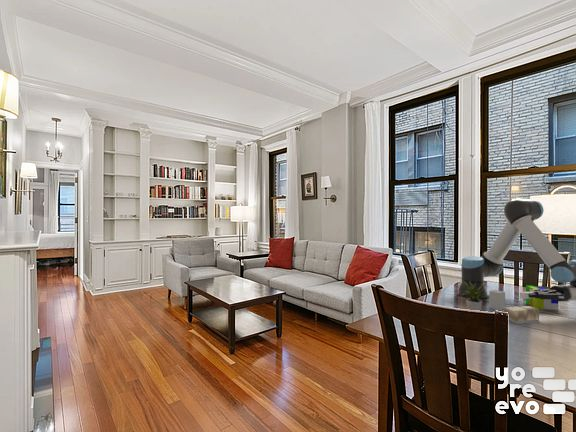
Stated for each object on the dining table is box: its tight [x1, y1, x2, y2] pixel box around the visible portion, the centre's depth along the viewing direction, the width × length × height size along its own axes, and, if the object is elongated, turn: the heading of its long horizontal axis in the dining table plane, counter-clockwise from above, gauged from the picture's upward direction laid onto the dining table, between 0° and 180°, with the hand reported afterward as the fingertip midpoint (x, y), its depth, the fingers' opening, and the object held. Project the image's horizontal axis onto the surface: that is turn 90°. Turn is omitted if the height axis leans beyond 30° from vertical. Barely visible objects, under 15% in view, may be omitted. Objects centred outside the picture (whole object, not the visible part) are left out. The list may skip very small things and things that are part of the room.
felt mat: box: [508, 320, 540, 325], centre depth 145 cm, size 12×9×1 cm
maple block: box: [503, 305, 540, 323], centre depth 145 cm, size 5×5×14 cm
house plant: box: [459, 281, 489, 312], centre depth 157 cm, size 14×14×16 cm
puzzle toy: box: [525, 285, 559, 311], centre depth 165 cm, size 10×10×10 cm
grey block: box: [488, 289, 506, 311], centre depth 162 cm, size 5×5×9 cm
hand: (521, 295), depth 145 cm, fingers closed
